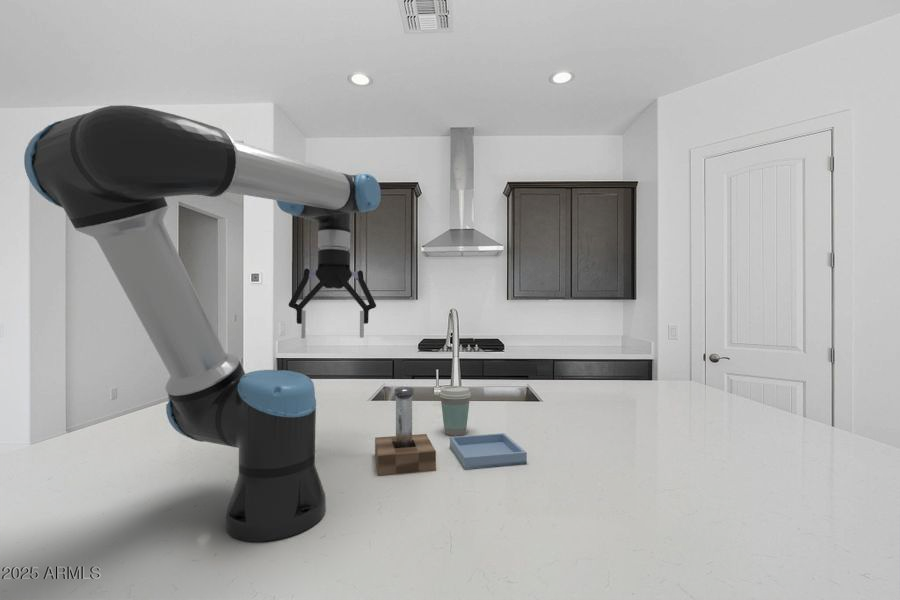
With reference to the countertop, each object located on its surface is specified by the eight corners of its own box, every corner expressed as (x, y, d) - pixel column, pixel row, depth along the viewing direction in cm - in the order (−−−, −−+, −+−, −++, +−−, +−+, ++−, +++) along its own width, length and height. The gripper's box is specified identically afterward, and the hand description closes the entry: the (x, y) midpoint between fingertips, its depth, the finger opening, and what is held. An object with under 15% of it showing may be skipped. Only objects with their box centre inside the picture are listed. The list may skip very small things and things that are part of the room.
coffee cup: (471, 428, 118) (471, 385, 118) (470, 438, 110) (470, 392, 110) (441, 427, 119) (441, 385, 119) (437, 437, 110) (437, 391, 110)
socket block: (435, 470, 89) (435, 451, 89) (377, 475, 86) (378, 455, 86) (426, 450, 100) (426, 433, 100) (375, 454, 98) (375, 437, 98)
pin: (414, 465, 91) (414, 390, 92) (395, 466, 91) (395, 391, 91) (412, 458, 96) (412, 386, 96) (393, 459, 95) (393, 387, 95)
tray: (526, 463, 92) (526, 452, 92) (464, 469, 89) (464, 457, 89) (504, 443, 106) (504, 433, 106) (449, 447, 103) (449, 437, 103)
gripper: (383, 254, 110) (382, 336, 109) (280, 249, 102) (279, 337, 102) (387, 250, 102) (386, 338, 102) (277, 245, 95) (275, 339, 95)
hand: (333, 337), depth 102 cm, fingers open, 13 cm apart
